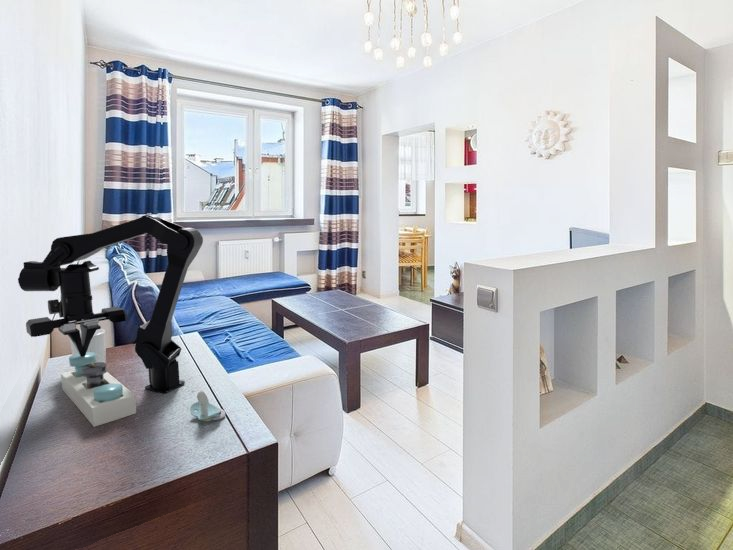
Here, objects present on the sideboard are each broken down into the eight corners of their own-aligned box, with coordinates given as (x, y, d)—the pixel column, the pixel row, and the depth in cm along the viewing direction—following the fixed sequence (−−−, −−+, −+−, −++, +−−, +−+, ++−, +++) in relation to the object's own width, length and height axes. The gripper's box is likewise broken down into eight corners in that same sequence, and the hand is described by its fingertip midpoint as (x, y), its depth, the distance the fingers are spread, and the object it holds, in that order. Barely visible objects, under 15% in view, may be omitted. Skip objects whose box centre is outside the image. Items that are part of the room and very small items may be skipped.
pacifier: (213, 407, 93) (186, 416, 88) (213, 380, 92) (186, 387, 87) (231, 418, 88) (204, 428, 83) (231, 389, 87) (203, 398, 83)
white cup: (106, 361, 118) (103, 326, 116) (109, 370, 112) (106, 333, 110) (72, 367, 113) (68, 331, 112) (73, 377, 107) (69, 339, 106)
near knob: (127, 409, 89) (126, 388, 88) (99, 418, 85) (97, 396, 84) (119, 401, 92) (117, 381, 91) (92, 409, 88) (89, 388, 87)
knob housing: (136, 413, 89) (135, 395, 88) (94, 426, 83) (92, 407, 83) (99, 379, 106) (98, 364, 105) (62, 389, 100) (60, 373, 99)
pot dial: (110, 385, 94) (108, 364, 93) (86, 392, 91) (84, 370, 90) (104, 379, 97) (102, 359, 96) (80, 385, 94) (78, 364, 93)
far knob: (100, 374, 100) (98, 356, 99) (74, 380, 96) (72, 361, 96) (93, 368, 104) (91, 350, 103) (68, 374, 100) (66, 356, 99)
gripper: (110, 281, 109) (115, 339, 111) (17, 291, 95) (25, 357, 98) (125, 287, 101) (130, 349, 104) (27, 299, 88) (35, 370, 90)
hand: (82, 355), depth 99 cm, fingers closed
